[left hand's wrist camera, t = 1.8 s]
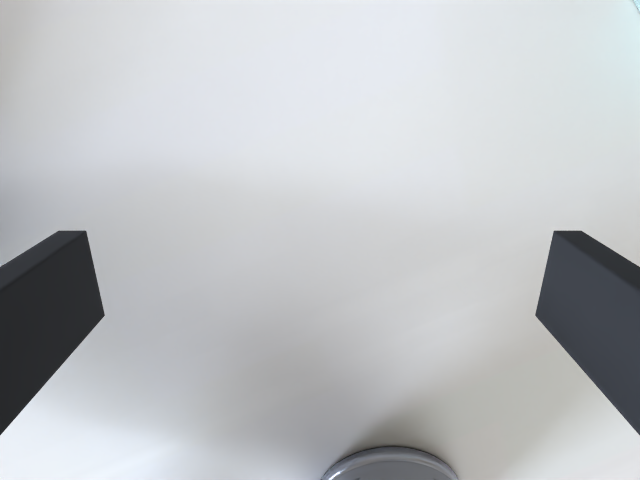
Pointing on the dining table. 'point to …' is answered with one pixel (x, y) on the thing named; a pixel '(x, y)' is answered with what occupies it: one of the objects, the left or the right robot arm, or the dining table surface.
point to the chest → (637, 4)
